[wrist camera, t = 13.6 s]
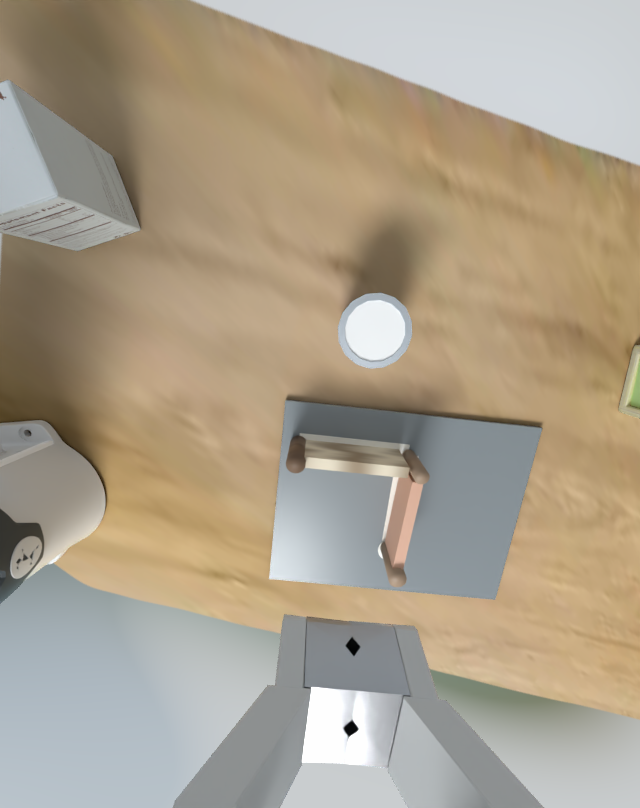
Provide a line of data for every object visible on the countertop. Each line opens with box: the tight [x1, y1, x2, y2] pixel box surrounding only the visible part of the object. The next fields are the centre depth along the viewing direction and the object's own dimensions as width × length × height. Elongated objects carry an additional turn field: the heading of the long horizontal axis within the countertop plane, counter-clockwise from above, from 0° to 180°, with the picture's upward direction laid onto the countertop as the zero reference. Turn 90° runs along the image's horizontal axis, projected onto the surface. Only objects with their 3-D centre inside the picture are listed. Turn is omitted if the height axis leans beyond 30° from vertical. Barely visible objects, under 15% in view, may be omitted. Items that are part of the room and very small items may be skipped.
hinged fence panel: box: [380, 450, 430, 587], centre depth 42 cm, size 14×2×6 cm, turn 172°
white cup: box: [338, 293, 412, 368], centre depth 37 cm, size 7×7×7 cm
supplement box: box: [0, 80, 141, 251], centre depth 31 cm, size 7×7×13 cm
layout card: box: [269, 400, 542, 600], centre depth 45 cm, size 30×24×1 cm
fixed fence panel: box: [286, 435, 410, 478], centre depth 40 cm, size 13×2×6 cm, turn 84°
